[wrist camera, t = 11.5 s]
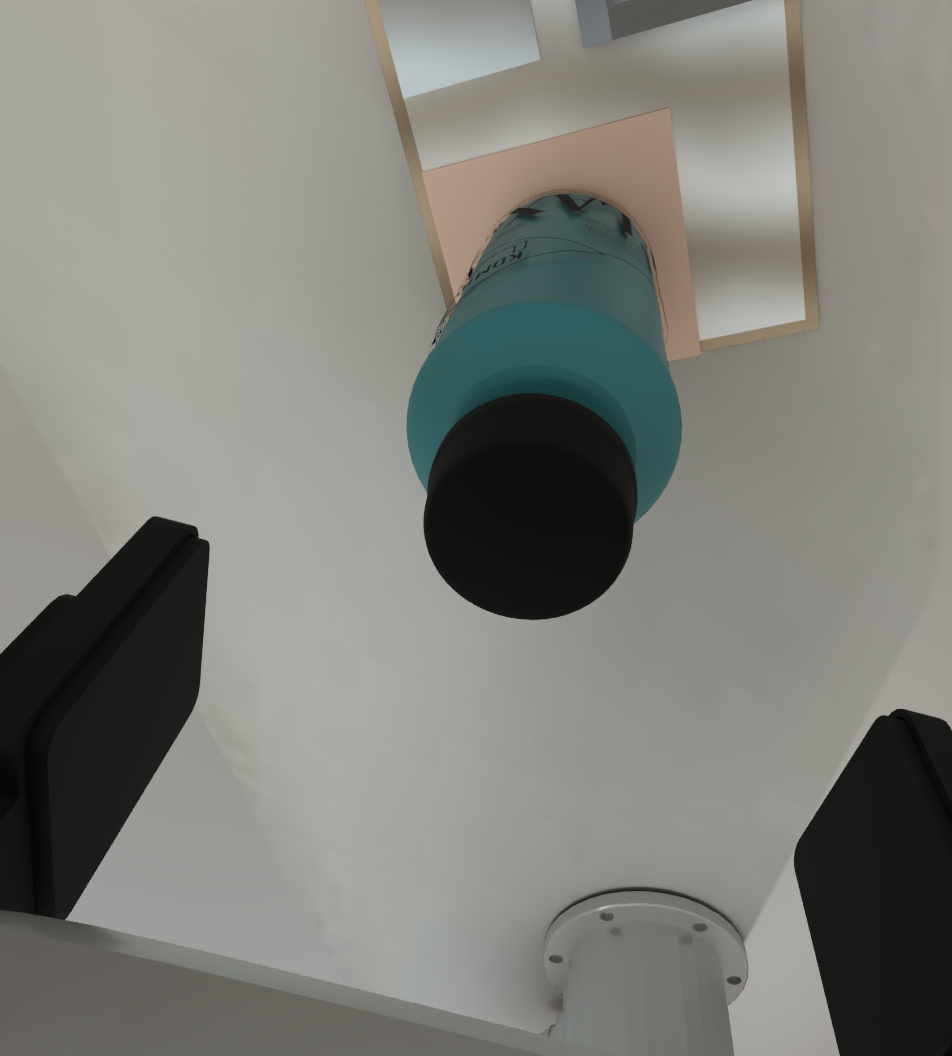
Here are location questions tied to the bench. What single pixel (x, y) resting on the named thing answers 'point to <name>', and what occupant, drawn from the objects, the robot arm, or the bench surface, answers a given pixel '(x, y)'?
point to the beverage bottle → (545, 411)
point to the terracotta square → (588, 165)
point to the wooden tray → (621, 92)
